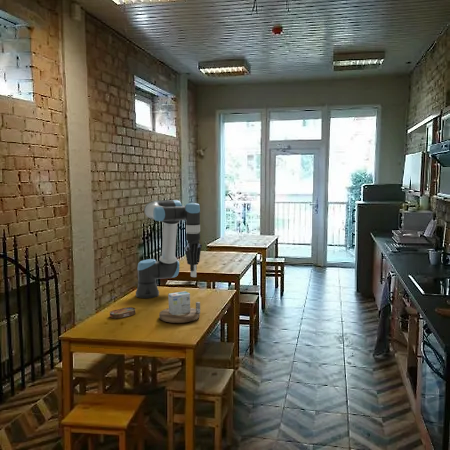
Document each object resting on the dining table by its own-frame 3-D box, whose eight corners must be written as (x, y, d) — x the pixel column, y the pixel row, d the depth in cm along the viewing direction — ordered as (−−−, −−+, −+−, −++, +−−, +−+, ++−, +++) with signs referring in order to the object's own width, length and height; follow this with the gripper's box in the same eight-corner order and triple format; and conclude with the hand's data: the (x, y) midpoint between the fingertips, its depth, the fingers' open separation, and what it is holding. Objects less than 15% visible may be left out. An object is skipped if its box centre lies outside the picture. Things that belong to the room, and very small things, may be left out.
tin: (130, 306, 263) (138, 308, 257) (131, 311, 264) (138, 314, 257) (106, 311, 254) (113, 314, 247) (107, 317, 254) (114, 319, 247)
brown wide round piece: (164, 309, 262) (164, 296, 261) (203, 310, 259) (203, 297, 259) (154, 322, 240) (154, 307, 239) (196, 323, 238) (196, 308, 237)
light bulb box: (186, 309, 255) (185, 290, 254) (190, 312, 249) (190, 293, 248) (168, 312, 250) (167, 293, 249) (172, 315, 244) (172, 295, 243)
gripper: (194, 231, 247) (195, 273, 249) (179, 233, 236) (180, 278, 238) (206, 231, 243) (206, 275, 245) (191, 234, 232) (191, 279, 234)
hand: (193, 276), depth 242 cm, fingers closed
